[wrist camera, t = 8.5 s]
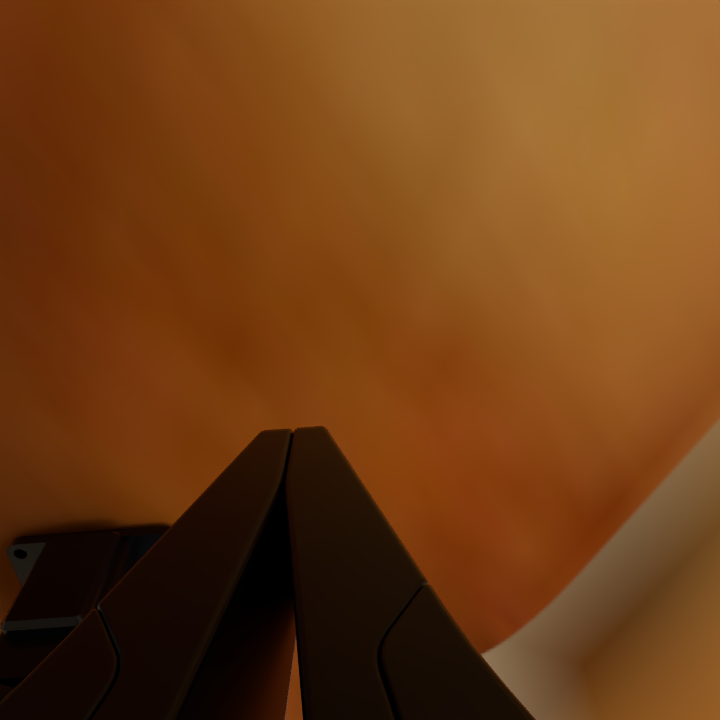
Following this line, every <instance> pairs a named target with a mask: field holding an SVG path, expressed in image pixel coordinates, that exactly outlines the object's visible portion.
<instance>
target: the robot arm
mask: <svg viewBox="0 0 720 720" xmlns="http://www.w3.org/2000/svg"><path fill="white" fill-rule="evenodd" d="M23 550H24V551H23ZM7 555H8V557H9V559H10V562H11V564H12V566H13V568H14V570H15V572H16V574H17V577H18V579H19V581H20V583H21V585H22V587H21V589H20V591H19V593H18V594H17V596H16V598H15V600H14V602H13V604H12V605H11V607H10V609H9V611H8V613H7V615H6V616H5V618H4V620H3V622H2V624H1V630H2V631H1V633H0V720H285V714H286V706H287V699H288V691H289V684H290V677H291V669H292V662H293V654H294V647H295V639H296V640H297V652H298V664H299V676H300V688H301V700H302V712H303V720H536V719H535V718H534V717H533V716H532V715H531V713H530V712H529V711H528V710H527V709H526V708H525V707H524V705H522V703H521V702H520V701H519V700H518V699H517V698H516V696H515V695H514V694H513V693H512V692H511V691H510V690H509V688H508V687H507V686H506V685H505V684H504V683H503V681H502V680H501V679H500V678H499V676H498V675H497V674H496V673H495V672H494V671H493V669H492V668H491V667H490V666H489V665H488V663H487V662H486V661H485V660H484V658H483V657H482V656H481V655H480V654H479V652H478V651H477V650H476V649H475V648H474V646H473V645H472V644H471V642H470V641H469V639H468V638H467V637H466V635H465V634H464V633H463V631H462V630H461V628H460V627H459V626H458V624H457V623H456V621H455V620H454V619H453V617H452V616H451V614H450V613H449V612H448V610H447V609H446V607H445V606H444V604H443V603H442V601H441V600H440V598H439V597H438V595H437V594H436V592H435V591H434V589H433V588H432V586H431V585H428V582H427V579H426V578H425V576H424V575H423V573H422V572H421V570H420V569H419V567H418V566H417V564H416V563H415V561H414V560H413V558H412V557H411V555H410V554H409V552H408V551H407V549H406V548H405V546H404V545H403V543H402V542H401V540H400V539H399V537H398V536H397V534H396V533H395V531H394V530H393V528H392V527H391V525H390V524H389V522H388V521H387V519H386V517H385V516H384V514H383V513H382V511H381V510H380V508H379V507H378V505H377V504H376V502H375V501H374V499H373V498H372V496H371V495H370V493H369V492H368V490H367V489H366V487H365V486H364V484H363V483H362V481H361V480H360V478H359V477H358V475H357V474H356V472H355V471H354V469H353V468H352V466H351V465H350V463H349V462H348V460H347V459H346V457H345V456H344V454H343V453H342V451H341V450H340V448H339V447H338V445H337V444H336V442H335V441H334V439H333V438H332V436H331V435H330V433H329V432H328V430H327V429H326V428H325V427H323V426H315V427H303V428H297V429H296V430H295V431H294V433H293V431H292V430H291V429H276V430H264V431H262V432H260V433H259V434H258V435H257V436H256V437H255V438H254V439H253V440H252V442H251V443H250V444H249V445H248V446H247V447H246V448H245V449H244V450H243V451H242V452H241V453H240V454H239V455H238V456H237V457H236V458H235V460H234V461H233V462H232V463H231V464H230V465H229V466H228V467H227V468H226V469H225V470H224V471H223V472H222V473H221V474H220V475H219V476H218V478H217V479H216V480H215V481H214V482H213V483H212V484H211V485H210V486H209V487H208V488H207V489H206V490H205V491H204V492H203V493H202V494H201V496H200V497H199V498H198V499H197V500H196V501H195V502H194V503H193V504H192V505H191V506H190V507H189V508H188V509H187V510H186V511H185V512H184V514H183V515H182V516H181V517H180V518H179V519H178V520H177V521H176V522H175V523H174V524H173V525H172V526H171V527H170V528H169V527H164V526H160V527H147V528H134V529H120V530H107V531H94V532H80V533H67V534H54V535H40V536H27V537H19V538H16V539H14V540H13V541H12V543H11V544H10V546H9V548H8V550H7Z"/></svg>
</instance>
